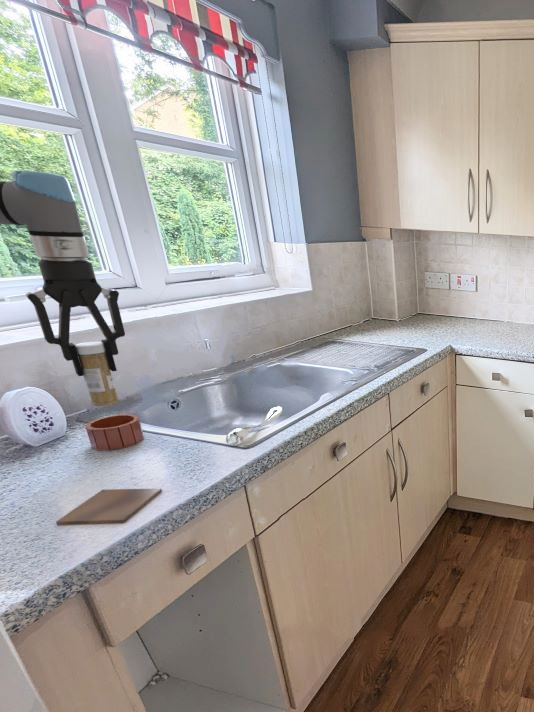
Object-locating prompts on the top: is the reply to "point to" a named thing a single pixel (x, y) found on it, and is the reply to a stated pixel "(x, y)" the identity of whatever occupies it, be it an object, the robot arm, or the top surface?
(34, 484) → the top surface
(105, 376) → the sprinkles bottle
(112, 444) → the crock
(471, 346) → the top surface
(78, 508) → the cork board
